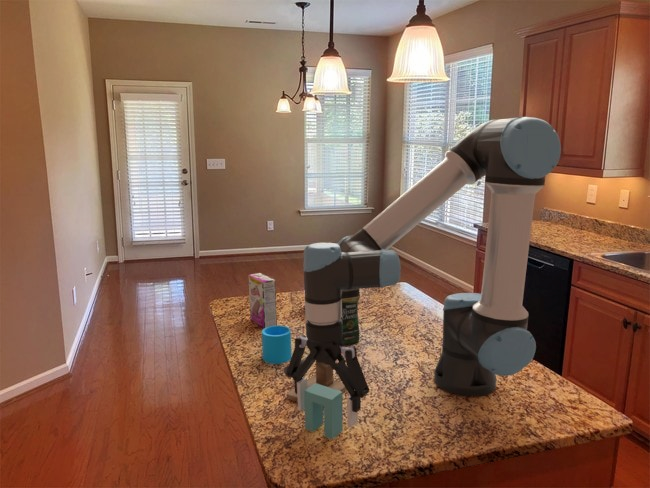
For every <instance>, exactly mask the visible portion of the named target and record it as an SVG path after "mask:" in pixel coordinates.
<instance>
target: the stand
mask: <svg viewBox="0 0 650 488" xmlns="http://www.w3.org/2000/svg"><path fill="white" fill-rule="evenodd" d="M305 360H306V357H305V358H302V359H301V362H300V365H299V367H298V369H299V368H300V367H301V365H302V364H303V363H304V361H305ZM288 366H289V365H287V366H284V368H283V373H284V375H285V377H286V378H288V379H291V378H292V377H291V376H290V377H288V376H287V375H286V372H287V369H288ZM297 371H298V370H297ZM315 383H317V384H320V385H323V386H326V387H329V388H333V389H336V390H339V391H342V394H343V393H345V392H346V391H347V389H346V388H345V386H344V384H343V383H342V381H338V380H335V379H334V370H333V369H332V367H331V366H330V365H327V364H324V363H319V362H317V361H316V360H315V374H314V375H313V376H311V377H309V378H307V388H309V387H310V386H312V385H313V384H315ZM285 397H286V399H287V400H290V401H293V402H295V403H298V397H297V394H296V393H295V387H294V388H293V389H291V390H290V391H289V392H287V393H286V396H285ZM323 409H324V406H323Z"/></svg>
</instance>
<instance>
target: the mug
mask: <svg viewBox="0 0 650 488" xmlns="http://www.w3.org/2000/svg"><path fill="white" fill-rule="evenodd" d="M261 344H262V345H261V347H262V349H261V350H262V360H263V362H265V363H267V364H272V365H278V364H280V365H281V364H285V363H288V362H290V360H291V357H292V331H291V328H290V327H288V326H285V325H277V326H270V327H267V328H265V329H264V328H262V330H261ZM284 362H285V363H284Z"/></svg>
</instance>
